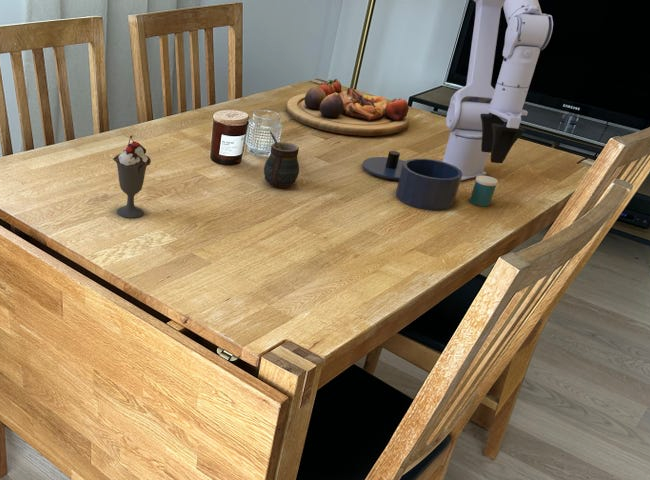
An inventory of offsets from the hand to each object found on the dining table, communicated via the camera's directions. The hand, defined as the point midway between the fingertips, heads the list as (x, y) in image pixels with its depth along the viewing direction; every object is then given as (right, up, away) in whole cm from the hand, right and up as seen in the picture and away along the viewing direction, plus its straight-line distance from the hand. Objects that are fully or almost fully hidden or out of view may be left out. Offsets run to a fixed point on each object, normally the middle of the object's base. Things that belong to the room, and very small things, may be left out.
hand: (491, 157), depth 143 cm
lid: (-15, +2, +17) cm, 23 cm away
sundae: (-71, -13, -9) cm, 72 cm away
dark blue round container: (-11, -7, +6) cm, 14 cm away
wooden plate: (-17, +24, +48) cm, 56 cm away
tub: (0, -8, +6) cm, 10 cm away
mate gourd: (-41, -4, +7) cm, 42 cm away
